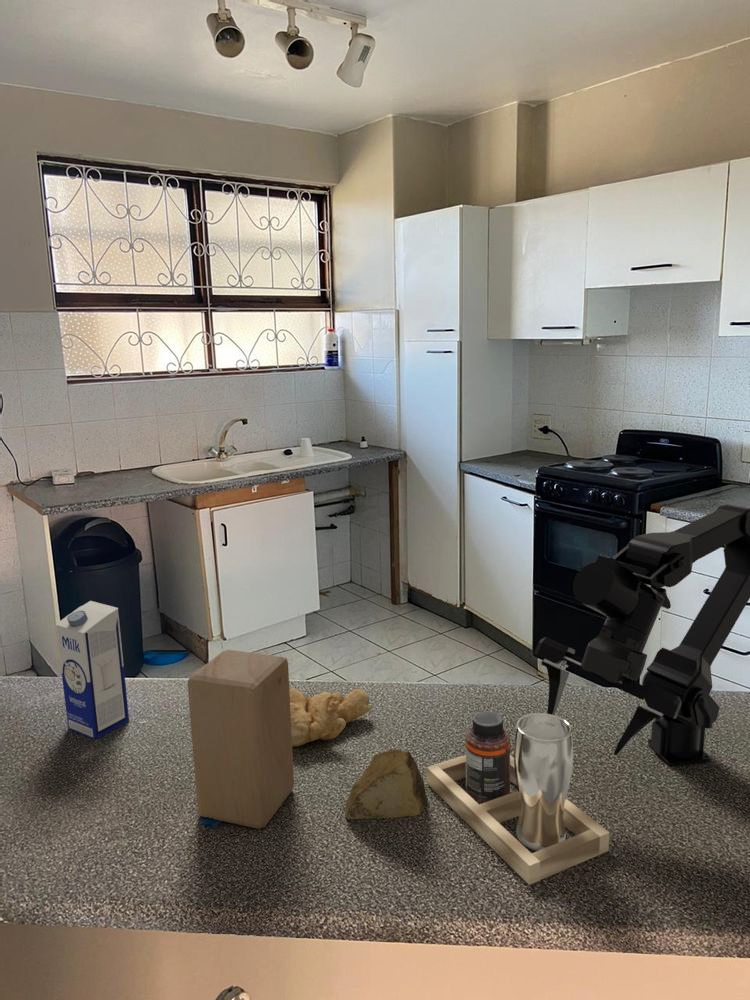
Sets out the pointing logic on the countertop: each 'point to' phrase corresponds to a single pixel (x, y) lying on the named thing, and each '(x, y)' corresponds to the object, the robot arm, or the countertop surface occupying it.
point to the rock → (388, 788)
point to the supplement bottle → (487, 758)
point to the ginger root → (324, 714)
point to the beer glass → (542, 778)
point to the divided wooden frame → (504, 808)
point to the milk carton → (93, 669)
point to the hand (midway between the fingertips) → (581, 737)
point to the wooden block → (241, 737)
